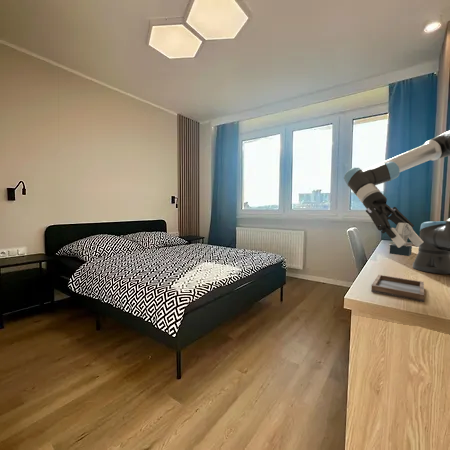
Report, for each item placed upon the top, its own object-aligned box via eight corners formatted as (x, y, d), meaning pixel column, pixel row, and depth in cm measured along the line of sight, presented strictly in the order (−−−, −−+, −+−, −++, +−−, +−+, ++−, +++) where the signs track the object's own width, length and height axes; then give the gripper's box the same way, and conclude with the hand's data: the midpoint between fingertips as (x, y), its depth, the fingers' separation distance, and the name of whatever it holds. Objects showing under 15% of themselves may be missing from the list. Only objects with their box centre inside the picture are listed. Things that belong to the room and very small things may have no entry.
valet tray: (378, 279, 98) (378, 274, 98) (423, 287, 89) (423, 281, 89) (371, 291, 84) (371, 285, 83) (423, 302, 75) (424, 295, 75)
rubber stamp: (412, 253, 86) (415, 222, 85) (407, 256, 81) (410, 223, 80) (393, 251, 90) (395, 221, 89) (387, 254, 85) (390, 222, 84)
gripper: (384, 205, 102) (422, 250, 88) (345, 204, 95) (380, 252, 81) (397, 192, 97) (441, 237, 83) (357, 189, 90) (397, 238, 76)
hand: (411, 244), depth 82 cm, fingers closed on rubber stamp, 8 cm apart
